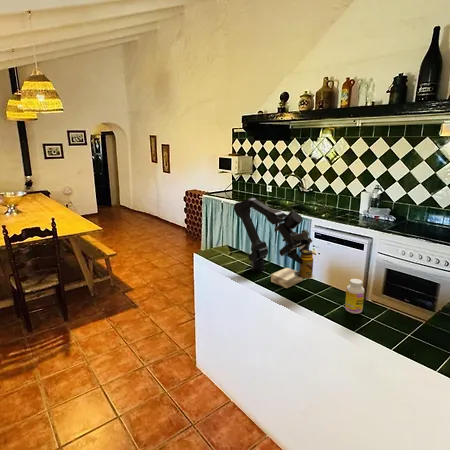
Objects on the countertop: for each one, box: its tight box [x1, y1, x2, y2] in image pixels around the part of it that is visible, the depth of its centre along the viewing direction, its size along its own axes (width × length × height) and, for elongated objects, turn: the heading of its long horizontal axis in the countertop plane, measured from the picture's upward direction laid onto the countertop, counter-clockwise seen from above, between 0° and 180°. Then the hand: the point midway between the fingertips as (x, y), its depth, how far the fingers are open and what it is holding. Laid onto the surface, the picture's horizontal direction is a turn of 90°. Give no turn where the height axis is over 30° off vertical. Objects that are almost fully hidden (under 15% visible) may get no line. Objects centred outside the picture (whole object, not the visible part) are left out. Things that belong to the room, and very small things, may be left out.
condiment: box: [294, 249, 315, 280], centre depth 147 cm, size 7×8×12 cm
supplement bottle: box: [344, 278, 365, 315], centre depth 128 cm, size 7×7×13 cm
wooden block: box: [270, 267, 304, 289], centre depth 157 cm, size 10×12×4 cm
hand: (306, 262), depth 146 cm, fingers closed on condiment, 6 cm apart
